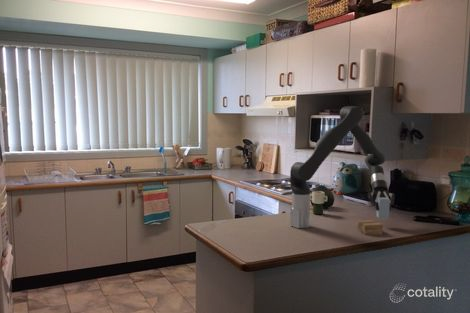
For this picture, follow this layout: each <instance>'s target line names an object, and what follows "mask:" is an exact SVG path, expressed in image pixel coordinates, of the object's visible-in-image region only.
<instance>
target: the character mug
mask: <svg viewBox="0 0 470 313" xmlns="http://www.w3.org/2000/svg"><path fill="white" fill-rule="evenodd" d="M311 193H312V194H311ZM311 193H310V200H312V202H313V203H315V204H314V206H312V213H313V214H314V215H322V214H324V208H323V205H322V203H324V201H327V196H325V193H324V192H322V191H314V192H312V191H311ZM311 196H312V198H311ZM324 197H326V200H324Z"/></svg>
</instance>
